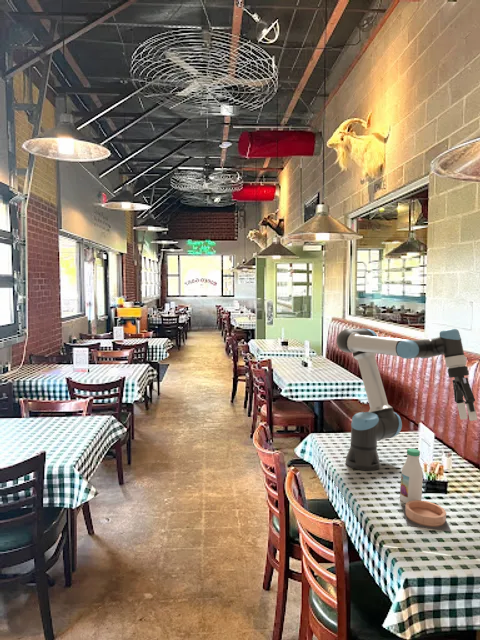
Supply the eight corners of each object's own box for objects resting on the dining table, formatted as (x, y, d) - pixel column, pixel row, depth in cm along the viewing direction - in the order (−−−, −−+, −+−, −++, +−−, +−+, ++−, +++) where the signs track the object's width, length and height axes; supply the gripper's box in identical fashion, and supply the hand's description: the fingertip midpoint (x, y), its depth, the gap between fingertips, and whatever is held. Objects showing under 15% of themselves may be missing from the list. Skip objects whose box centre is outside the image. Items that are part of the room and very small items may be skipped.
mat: (407, 526, 157) (407, 525, 157) (401, 505, 173) (401, 504, 173) (451, 532, 154) (451, 531, 154) (441, 510, 170) (441, 509, 170)
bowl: (408, 523, 158) (408, 514, 158) (403, 506, 171) (403, 498, 171) (449, 529, 156) (449, 519, 156) (440, 511, 168) (441, 502, 168)
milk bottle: (420, 499, 179) (423, 448, 178) (421, 507, 172) (424, 454, 171) (399, 495, 182) (402, 445, 180) (399, 503, 174) (402, 451, 173)
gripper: (475, 363, 176) (488, 419, 172) (458, 367, 200) (469, 417, 196) (455, 366, 177) (467, 422, 173) (440, 370, 201) (451, 419, 197)
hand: (468, 419), depth 185 cm, fingers open, 13 cm apart
